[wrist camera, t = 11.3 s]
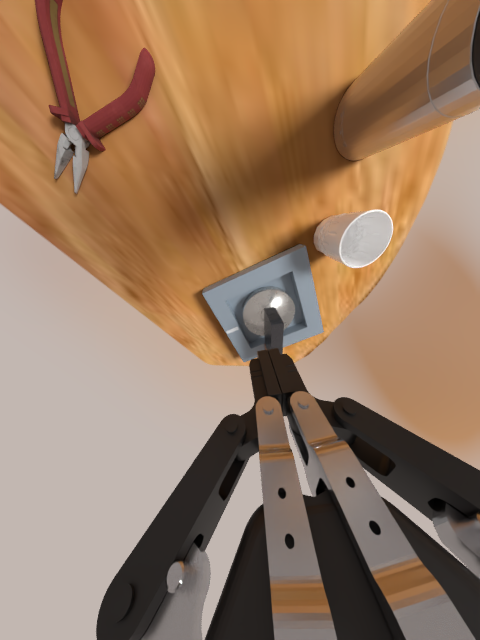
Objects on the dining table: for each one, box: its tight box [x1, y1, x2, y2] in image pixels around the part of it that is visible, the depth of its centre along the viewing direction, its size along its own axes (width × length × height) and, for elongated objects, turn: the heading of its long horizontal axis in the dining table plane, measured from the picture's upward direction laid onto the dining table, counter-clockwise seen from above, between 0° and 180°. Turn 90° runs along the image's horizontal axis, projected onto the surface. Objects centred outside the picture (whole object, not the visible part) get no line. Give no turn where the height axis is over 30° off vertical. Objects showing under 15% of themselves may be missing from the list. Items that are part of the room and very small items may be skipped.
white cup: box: [314, 210, 393, 268], centre depth 29 cm, size 8×8×10 cm
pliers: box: [35, 0, 155, 193], centre depth 22 cm, size 11×20×3 cm, turn 142°
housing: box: [202, 244, 324, 362], centre depth 40 cm, size 22×22×3 cm
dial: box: [242, 286, 295, 355], centre depth 38 cm, size 16×12×9 cm
